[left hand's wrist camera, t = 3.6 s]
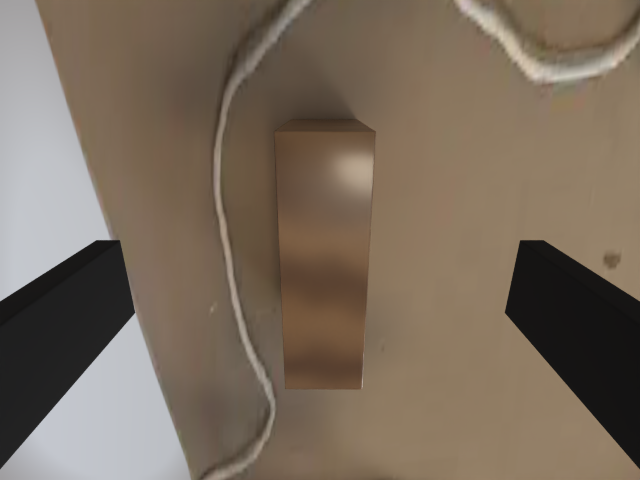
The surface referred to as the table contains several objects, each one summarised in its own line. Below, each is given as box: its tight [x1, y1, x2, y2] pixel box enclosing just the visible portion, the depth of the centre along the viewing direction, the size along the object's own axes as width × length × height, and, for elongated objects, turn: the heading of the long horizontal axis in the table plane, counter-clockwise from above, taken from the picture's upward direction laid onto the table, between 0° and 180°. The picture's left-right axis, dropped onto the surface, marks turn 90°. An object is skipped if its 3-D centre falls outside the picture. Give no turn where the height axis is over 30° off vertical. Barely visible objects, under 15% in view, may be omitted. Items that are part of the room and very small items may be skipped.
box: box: [274, 120, 376, 389], centre depth 32 cm, size 20×6×13 cm, turn 0°
